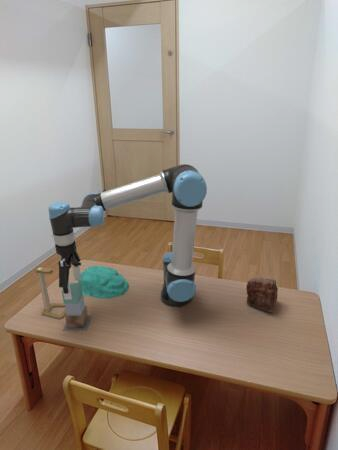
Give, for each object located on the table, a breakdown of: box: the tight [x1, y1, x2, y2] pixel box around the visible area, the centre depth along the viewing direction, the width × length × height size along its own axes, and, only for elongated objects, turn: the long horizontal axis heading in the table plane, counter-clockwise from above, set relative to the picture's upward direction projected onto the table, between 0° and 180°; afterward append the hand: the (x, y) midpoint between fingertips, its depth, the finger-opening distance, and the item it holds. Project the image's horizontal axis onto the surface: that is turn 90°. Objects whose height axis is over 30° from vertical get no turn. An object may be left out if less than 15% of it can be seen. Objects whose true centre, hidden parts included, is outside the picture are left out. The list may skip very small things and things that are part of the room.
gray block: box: [64, 295, 86, 316], centre depth 139 cm, size 6×6×6 cm
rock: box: [245, 277, 279, 313], centre depth 148 cm, size 14×12×15 cm
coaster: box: [62, 314, 93, 332], centre depth 143 cm, size 10×10×1 cm
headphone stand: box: [35, 266, 66, 320], centre depth 146 cm, size 10×11×22 cm
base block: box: [64, 305, 89, 328], centre depth 142 cm, size 7×7×6 cm
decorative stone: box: [77, 265, 130, 300], centre depth 167 cm, size 21×27×10 cm
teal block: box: [61, 282, 82, 304], centre depth 137 cm, size 6×6×6 cm
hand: (73, 289), depth 136 cm, fingers open, 13 cm apart
